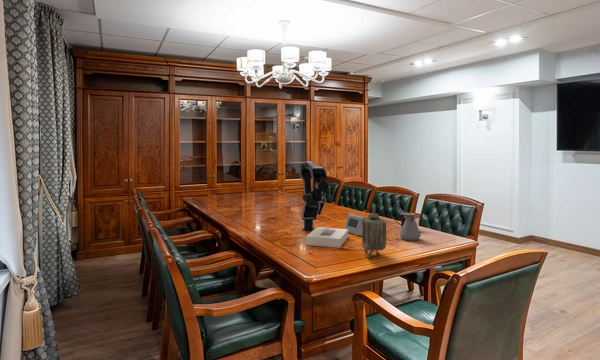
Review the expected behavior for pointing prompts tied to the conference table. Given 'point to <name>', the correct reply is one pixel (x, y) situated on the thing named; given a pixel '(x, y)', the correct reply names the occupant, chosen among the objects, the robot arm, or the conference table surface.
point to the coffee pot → (410, 229)
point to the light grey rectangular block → (327, 232)
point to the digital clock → (354, 224)
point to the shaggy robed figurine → (373, 233)
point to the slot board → (327, 237)
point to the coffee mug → (403, 217)
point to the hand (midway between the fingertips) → (317, 216)
